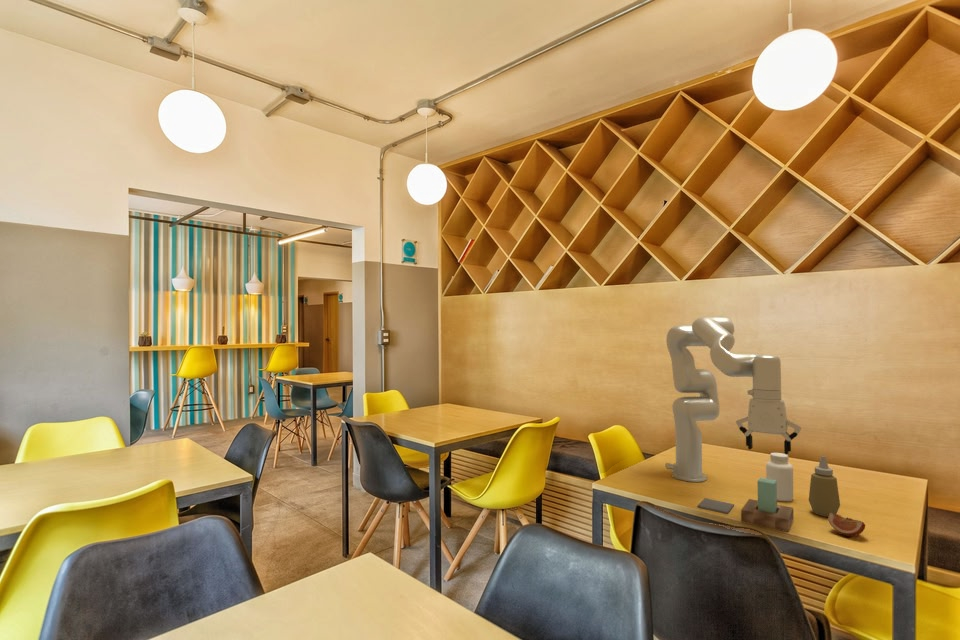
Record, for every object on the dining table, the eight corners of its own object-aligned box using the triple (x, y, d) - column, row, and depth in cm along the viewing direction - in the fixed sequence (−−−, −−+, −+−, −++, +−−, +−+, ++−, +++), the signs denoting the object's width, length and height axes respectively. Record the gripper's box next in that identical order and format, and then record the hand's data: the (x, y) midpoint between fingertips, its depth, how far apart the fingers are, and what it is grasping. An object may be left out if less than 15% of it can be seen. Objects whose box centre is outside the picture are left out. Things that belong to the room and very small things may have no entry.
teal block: (757, 520, 144) (757, 481, 144) (760, 516, 147) (760, 477, 148) (774, 524, 141) (774, 484, 141) (777, 519, 145) (776, 480, 145)
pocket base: (741, 521, 144) (741, 509, 144) (749, 509, 153) (749, 498, 153) (788, 532, 136) (788, 519, 136) (793, 519, 145) (793, 507, 145)
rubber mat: (697, 507, 155) (697, 505, 155) (704, 499, 162) (704, 498, 162) (727, 514, 149) (727, 512, 149) (734, 506, 156) (734, 504, 156)
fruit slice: (824, 531, 137) (823, 513, 137) (836, 526, 140) (835, 509, 140) (858, 542, 129) (857, 524, 129) (870, 537, 132) (869, 519, 133)
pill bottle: (784, 503, 158) (784, 458, 158) (761, 496, 165) (760, 453, 166) (798, 499, 162) (797, 455, 162) (774, 492, 169) (774, 450, 169)
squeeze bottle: (841, 521, 144) (840, 461, 144) (809, 515, 148) (808, 457, 148) (838, 512, 150) (837, 455, 151) (808, 507, 155) (807, 452, 155)
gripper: (733, 394, 149) (734, 449, 148) (799, 398, 138) (800, 458, 137) (738, 392, 154) (739, 444, 154) (801, 396, 143) (803, 453, 143)
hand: (768, 451), depth 146 cm, fingers open, 9 cm apart
